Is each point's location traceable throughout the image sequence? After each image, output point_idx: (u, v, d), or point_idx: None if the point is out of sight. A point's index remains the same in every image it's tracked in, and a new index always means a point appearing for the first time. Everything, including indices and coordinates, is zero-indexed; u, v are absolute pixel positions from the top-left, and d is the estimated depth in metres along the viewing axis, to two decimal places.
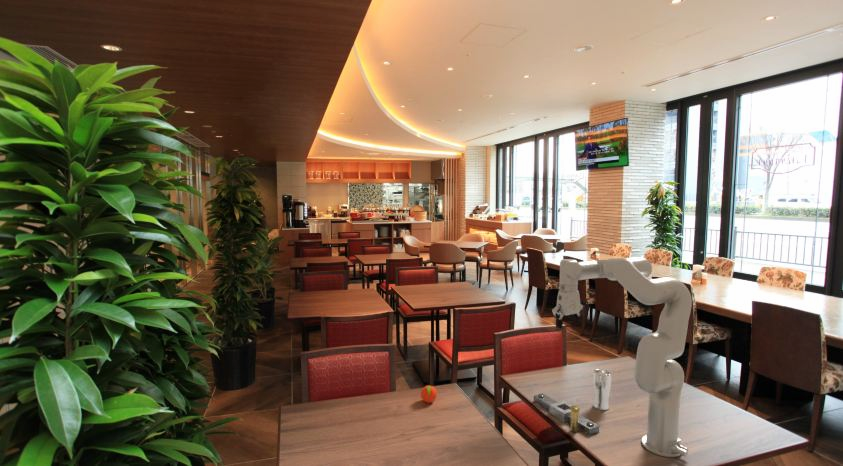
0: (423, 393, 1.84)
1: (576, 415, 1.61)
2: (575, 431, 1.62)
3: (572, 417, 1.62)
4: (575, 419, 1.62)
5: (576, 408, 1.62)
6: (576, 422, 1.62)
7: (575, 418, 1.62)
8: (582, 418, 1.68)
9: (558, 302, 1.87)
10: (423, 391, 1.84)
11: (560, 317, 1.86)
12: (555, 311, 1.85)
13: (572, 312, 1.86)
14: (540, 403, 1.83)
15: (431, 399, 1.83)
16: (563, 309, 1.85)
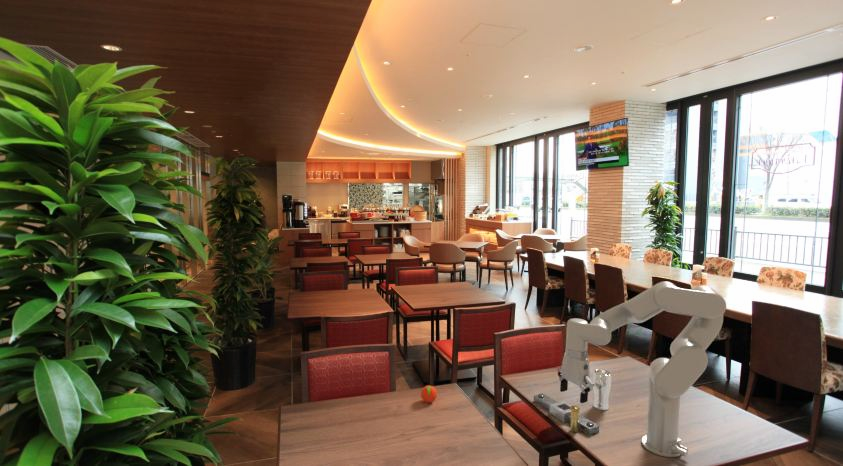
0: (423, 393, 1.84)
1: (576, 415, 1.61)
2: (575, 431, 1.62)
3: (572, 417, 1.62)
4: (575, 419, 1.62)
5: (576, 408, 1.62)
6: (576, 422, 1.62)
7: (575, 418, 1.62)
8: (582, 418, 1.68)
9: (584, 373, 1.57)
10: (423, 391, 1.84)
11: None
12: None
13: None
14: (540, 403, 1.83)
15: (431, 399, 1.83)
16: (589, 378, 1.58)
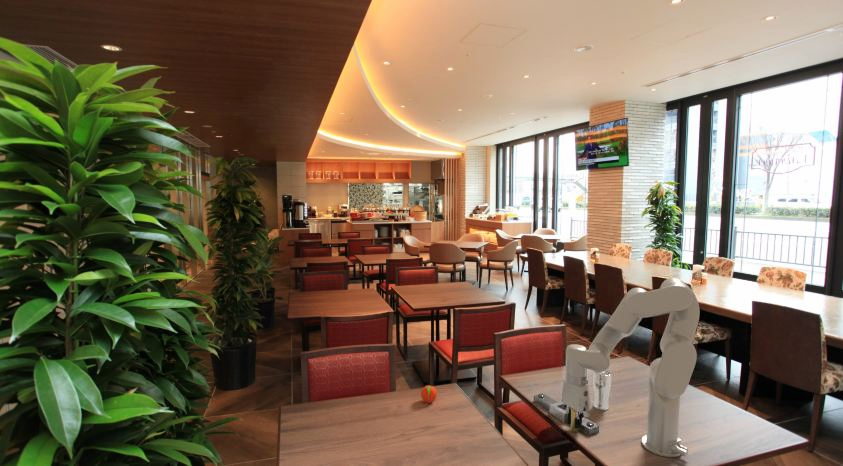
0: (423, 393, 1.84)
1: None
2: (575, 431, 1.62)
3: (572, 417, 1.62)
4: None
5: None
6: None
7: None
8: (582, 418, 1.68)
9: (584, 400, 1.57)
10: (423, 391, 1.84)
11: None
12: None
13: None
14: (540, 403, 1.83)
15: (431, 399, 1.83)
16: (589, 404, 1.59)
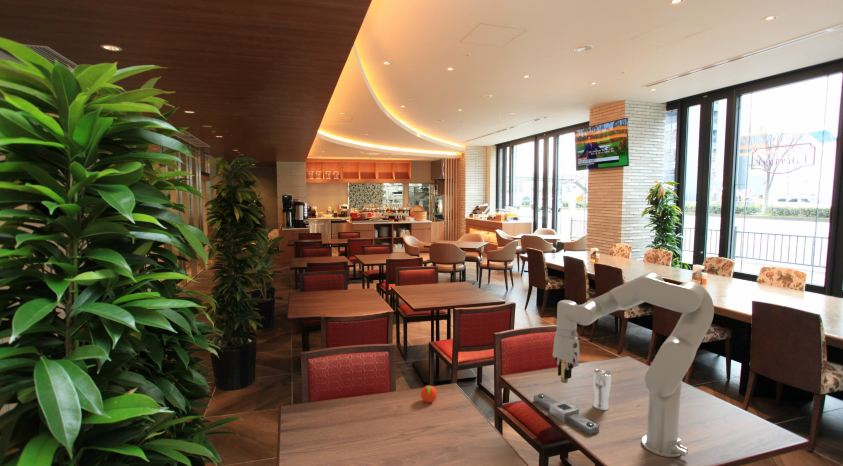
0: (423, 393, 1.84)
1: None
2: (565, 381, 1.72)
3: (562, 368, 1.72)
4: None
5: None
6: None
7: None
8: (582, 418, 1.68)
9: (574, 351, 1.67)
10: (423, 391, 1.84)
11: None
12: None
13: None
14: (540, 403, 1.83)
15: (431, 399, 1.83)
16: None
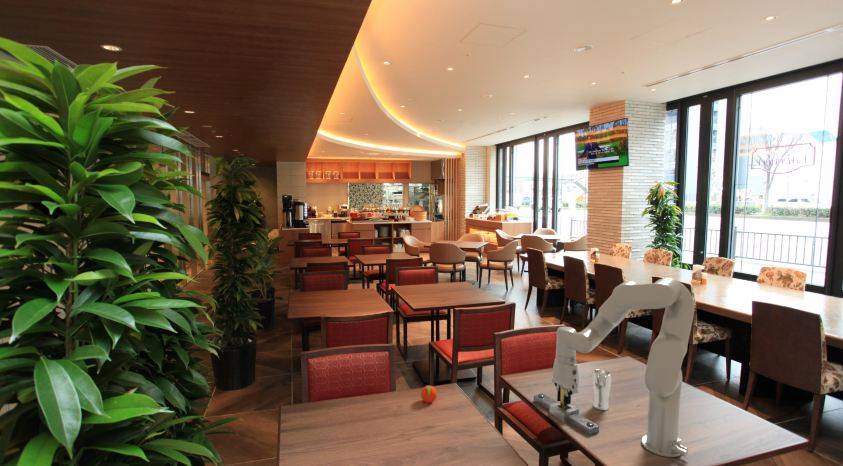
0: (423, 393, 1.84)
1: None
2: (564, 407, 1.73)
3: (561, 394, 1.73)
4: None
5: None
6: None
7: None
8: (582, 418, 1.68)
9: (573, 378, 1.68)
10: (423, 391, 1.84)
11: None
12: None
13: None
14: (540, 403, 1.83)
15: (431, 399, 1.83)
16: (578, 382, 1.70)
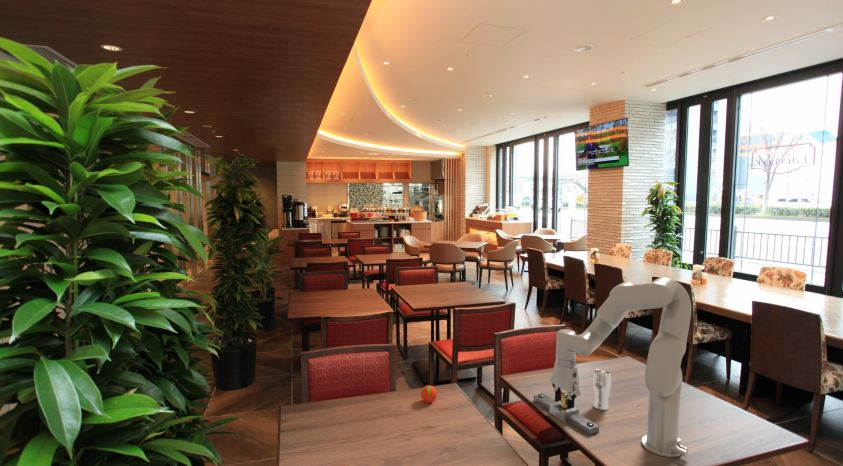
0: (423, 393, 1.84)
1: (566, 401, 1.72)
2: None
3: (562, 403, 1.73)
4: (565, 405, 1.73)
5: (566, 394, 1.73)
6: (566, 407, 1.73)
7: (565, 403, 1.72)
8: (582, 418, 1.68)
9: (573, 380, 1.68)
10: (423, 391, 1.84)
11: None
12: None
13: None
14: (540, 403, 1.83)
15: (431, 399, 1.83)
16: (578, 385, 1.70)
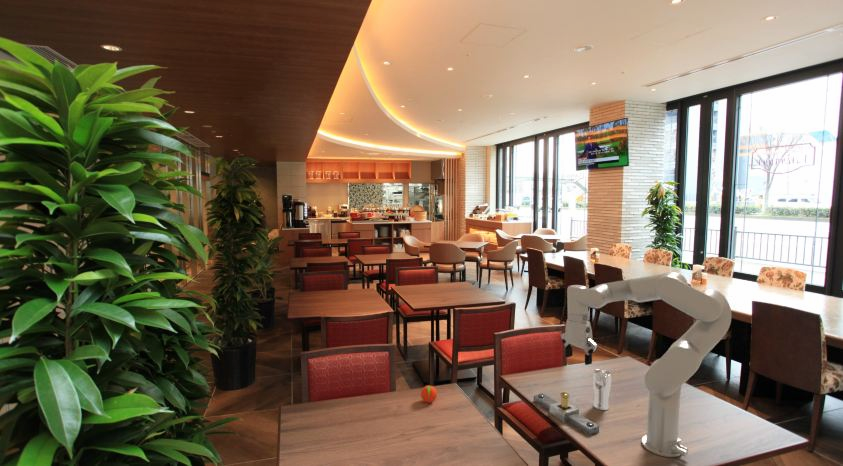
0: (423, 393, 1.84)
1: (566, 401, 1.72)
2: None
3: (562, 403, 1.73)
4: (565, 405, 1.73)
5: (566, 394, 1.73)
6: (566, 407, 1.73)
7: (565, 403, 1.73)
8: (582, 418, 1.68)
9: (587, 336, 1.64)
10: (423, 391, 1.84)
11: None
12: None
13: None
14: (540, 403, 1.83)
15: (431, 399, 1.83)
16: (592, 340, 1.66)
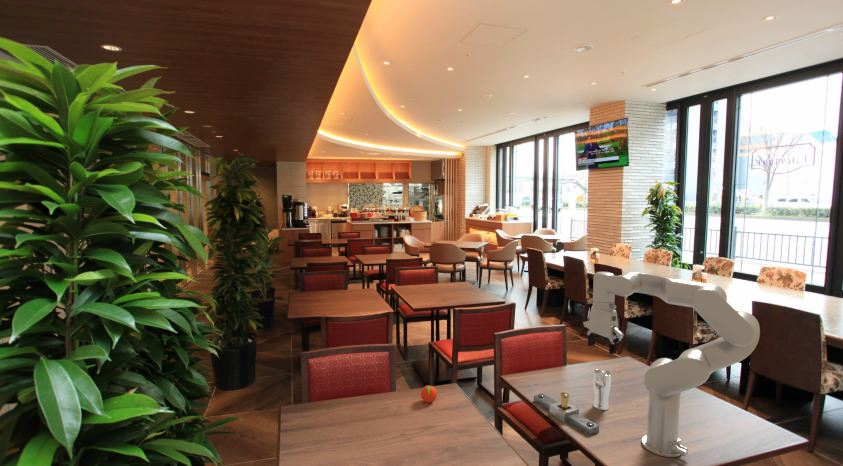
0: (423, 393, 1.84)
1: (566, 401, 1.72)
2: None
3: (562, 403, 1.73)
4: (565, 405, 1.73)
5: (566, 394, 1.73)
6: (566, 407, 1.73)
7: (565, 403, 1.73)
8: (582, 418, 1.68)
9: (612, 324, 1.58)
10: (423, 391, 1.84)
11: None
12: None
13: None
14: (540, 403, 1.83)
15: (431, 399, 1.83)
16: (617, 329, 1.60)
